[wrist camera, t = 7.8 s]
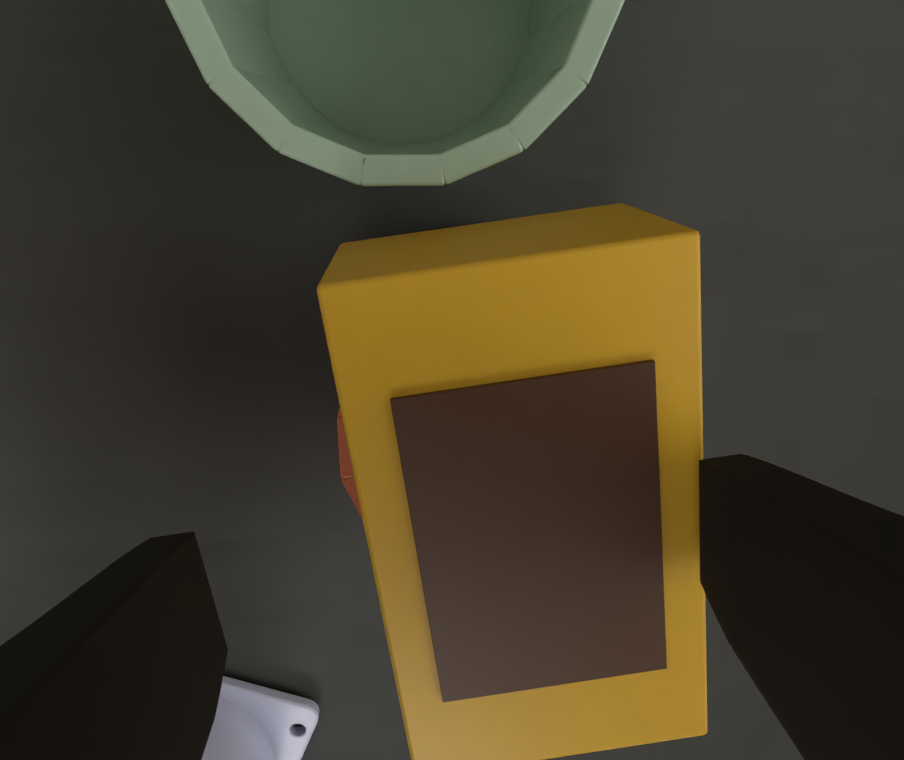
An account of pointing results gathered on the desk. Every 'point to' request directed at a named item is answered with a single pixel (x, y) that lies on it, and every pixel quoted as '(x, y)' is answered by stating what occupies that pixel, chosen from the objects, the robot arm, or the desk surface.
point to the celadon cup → (397, 77)
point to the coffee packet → (530, 476)
